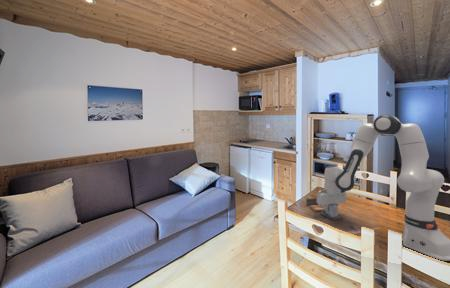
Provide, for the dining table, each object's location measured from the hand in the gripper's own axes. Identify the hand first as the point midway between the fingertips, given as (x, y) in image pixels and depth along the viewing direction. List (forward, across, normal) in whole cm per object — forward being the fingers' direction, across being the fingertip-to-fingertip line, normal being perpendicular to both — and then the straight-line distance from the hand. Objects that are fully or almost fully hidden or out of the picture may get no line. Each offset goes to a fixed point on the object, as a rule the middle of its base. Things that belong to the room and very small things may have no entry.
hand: (331, 210), depth 146 cm
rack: (+4, -1, +14) cm, 15 cm away
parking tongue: (+4, 0, 0) cm, 4 cm away
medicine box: (+4, 0, 0) cm, 4 cm away
